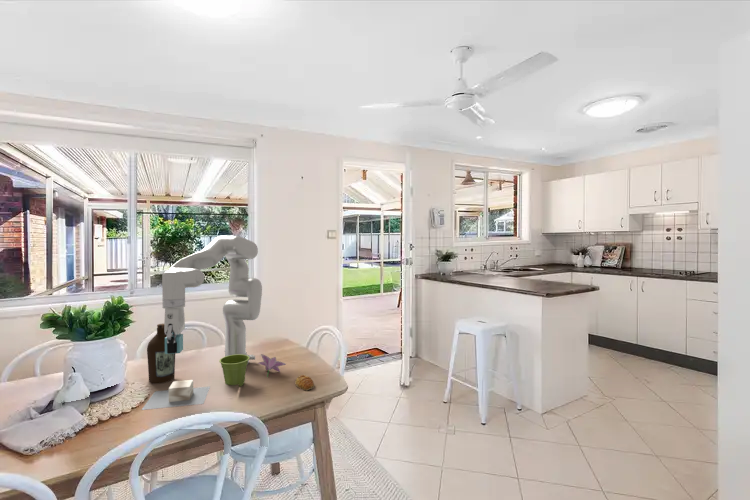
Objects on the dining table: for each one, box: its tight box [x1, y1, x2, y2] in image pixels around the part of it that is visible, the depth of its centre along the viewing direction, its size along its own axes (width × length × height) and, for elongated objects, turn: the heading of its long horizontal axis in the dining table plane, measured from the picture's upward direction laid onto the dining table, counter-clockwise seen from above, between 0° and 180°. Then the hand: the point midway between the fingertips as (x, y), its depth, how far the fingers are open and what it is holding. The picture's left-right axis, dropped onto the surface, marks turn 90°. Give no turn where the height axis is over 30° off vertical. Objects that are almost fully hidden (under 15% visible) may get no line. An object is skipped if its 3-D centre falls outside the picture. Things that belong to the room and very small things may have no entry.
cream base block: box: [168, 379, 194, 402], centre depth 140 cm, size 7×7×5 cm
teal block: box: [165, 333, 184, 355], centre depth 140 cm, size 5×5×6 cm
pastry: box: [294, 374, 315, 391], centre depth 155 cm, size 9×7×4 cm
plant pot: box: [219, 354, 250, 387], centre depth 155 cm, size 12×12×11 cm
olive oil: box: [146, 323, 176, 385], centre depth 157 cm, size 11×11×25 cm
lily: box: [257, 353, 287, 378], centre depth 168 cm, size 12×12×10 cm
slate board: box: [141, 386, 211, 411], centre depth 140 cm, size 20×16×2 cm
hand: (174, 350), depth 140 cm, fingers closed on teal block, 5 cm apart
